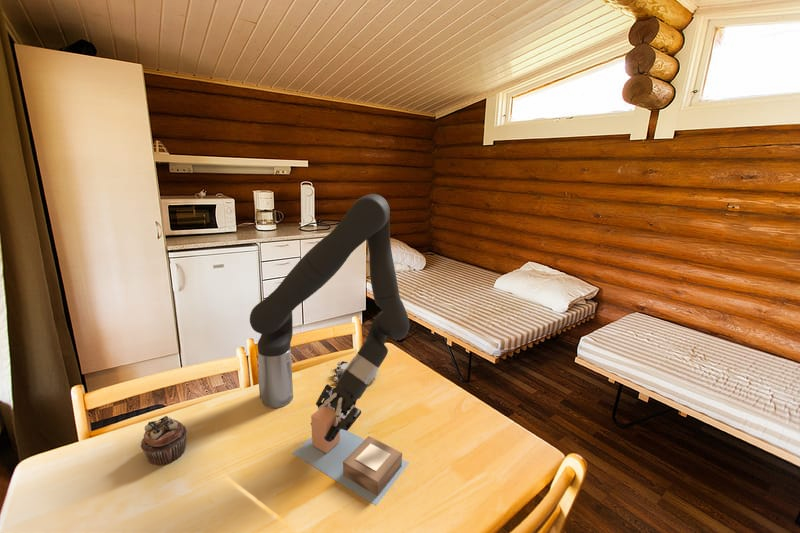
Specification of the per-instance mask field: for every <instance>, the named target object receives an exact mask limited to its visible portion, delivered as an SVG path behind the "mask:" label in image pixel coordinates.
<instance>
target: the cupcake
mask: <svg viewBox="0 0 800 533" xmlns="http://www.w3.org/2000/svg"><path fill="white" fill-rule="evenodd" d="M187 433H188V431H187V428H186V427H185V425H184V424H183V423H181V422H180V421H178V420H176V419H173V418H171V417H168V416H167V415H166V416H163V417H161V418H159V419H158V420H154V421H153V420H152V421H148V424H146V425H145V426H144V434H143V438H142V440H141V442H140V443H141V444H140V448H141V450H142V451H143V453H144V454H145V456H146V459H147V461H148V462H149V463H150V464H151V465H153V466H157V467H160V466H166V465H169V464H171V463H173V462H174V461H177V460H178V459H180V458H181V457H182V456H183V454H185V451H186V447H187V446H186V444H187V443H186V442H187V435H188V434H187Z"/></svg>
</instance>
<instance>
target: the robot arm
mask: <svg viewBox="0 0 800 533" xmlns="http://www.w3.org/2000/svg"><path fill="white" fill-rule="evenodd" d="M390 213H391V210H390V205H389V204H388V201H387V200H386V199H385V198H384V197H383V196H381V195H380V194H376V193H369V194H365V195H363V196H362V197H360V198H358V199H357V200H355V201H354V202H353V204H352V205H351V207H350V209H349V210H348V211H347V212H346V214H345V215H344V216H343V217H342V218H341V220H340V221H339V223H338V224H337V225H336V226H335V227H334V228H333V230H331V231H330V232H329V233H328V234H327V235H326V236H324V237H323V238H322V239H321V240H319V241H318V242H317V243H316V244H315V245H314V246H313V247H312V248H311V249H309V250H308V251H307V252H306V254H305V255H304V256H302V258H300V259H299V261H298V262H297V263H296V264H295V265H294V267H293V268H292V269H291V270H290V271H289V273H287V275H286V276H285V278H283V279H282V281H281V283H280V284H279V285H278V286H277V287H276V288H275V289H274V290H273V291H272V292H271V293H270V294H269V295H268V296H267V297H266V298H264V299H263V300H262V301H259V302H258V303H257V304H256V305H254V307H253V308H252V310H251V312H250V314H249V324H250V327H251V328H252V330H253V331H254V332H255V333H258V334H260V337H259V339H258V341H257V353H258V354H257V357H258V367H259V370H258V371H257V376H258V378H257V379H258V388H259V398H260V400H261V403H262V405H263V406H265V407H266V408H271V409H277V408H281V407H284V406H287V405H288V404H290V403H291V401H292V400H293V398H294V388H293V386H294V385H293V367H292V353H291V352H292V351H291V347H292V346H291V342H292V338H293V331H294V330H293V326H294V325H293V311H294V310H295V309H296V308H297V307H298V306H300V304H302V303H303V302H305V301H306V300H307V299H309V298H310V297H311V296H313V295H314V294H315V293H317V292H318V291H319V290H320V289H321V288H322V287H324V285H325V284H327V283H328V282H329V281H330V280H331V279H332V278H333V276H335V275H336V274H337V272H338V271H339V270H340V269H341V268H342V266H343V265H344V263H346V261H347V260H348V259H349V257H350V256H351V254H352V253H353V252H354V251H355V250H356V249H357V248H358V247H360V246H361V245H362V244H363V243H364V242H365V241H367V246H368V247H367V248H368V255H369V276H370V277H369V278H370V285H371V289H372V295H373V299H374V303H375V304H376V305H375V306H377V307H379V308H380V310H381V311H379V312H378V313H377V314H376V316H375V317H374V319H373V321H372V323H371V326H370V328H369V329H368V330H369V331H368V333H367V336H366V339H365V341H364V342H363V344H362V346H361V347H360V348H359V350H358V351H357V352H356V354H355V356H354V357H353V358H352V359H351V361H350V362H348V363H349V365H348V366H347V368H346V369H345V371H344V372H343V374H342V375H341V377H340V378H339V379H338V381H336V386H335V387H333V386H332V385H330V384H325V386H324V388H323V389H322V392H321V393H320V394H319V397H318V399H317V401H316V402H315V405H316V406H317V411H318V410H319V409H321V408H322V407H323V406H325V407H326V406H328V407H330V408H332V409H334V410H336V413H335V416H336V418H335V422H334V426H333V425H332V426H331V428H330V430H329V431H328V433H327V434H326V436H325V437H324V439H325V440H326V441H328V442H331V441H333V440H334V438H335V437H336V435H337V434H338V432H339V431H340V430H341V429H343V430H346V431H349V429H351V427H352V426H353V424H354V423H355V422H356V421H357V419H359V417H360V416H361V414H362V410H361V409H359V408H358V407H357V406H356V404H357V401H358V400H359V399H362V396H363V395H364V393H365V391H367V389H368V387H369V385H370V384H371V382H372V381H373V380H374V379H375V378H374V376H375V374H376V372H377V370H378V371H379V368H380V367H381V365H382V364H383V362H384V360H385V359H386V358H387V356H388V354H389V353H388V352H389V349H388V347H387V346H386V341H387V338H390V339H393V340H396V341H397V340H398V341H399V340H402V339H404V338H406V336H407V335H408V333H409V331H410V318H409V316H408V312H407V311H406V308H405V305H404V303H403V301H402V299H401V296H400V290H399V286H398V280H397V275H396V268H395V264H394V259H393V253H392V245H391V233H390V230H391V228H390V227H391V226H390V219H391V218H390V217H391V216H390ZM373 378H374V379H373ZM372 379H373V380H372ZM339 422H340V423H339ZM310 425H311V426H312V423H311V422H310Z"/></svg>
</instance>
